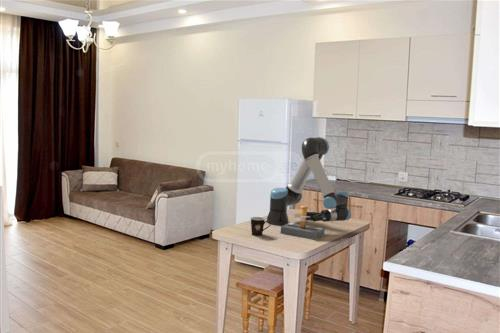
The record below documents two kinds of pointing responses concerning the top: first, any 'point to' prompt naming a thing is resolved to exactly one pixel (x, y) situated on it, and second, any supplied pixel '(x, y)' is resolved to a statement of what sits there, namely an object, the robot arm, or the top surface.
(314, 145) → the robot arm
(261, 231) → the coffee mug
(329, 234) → the top surface
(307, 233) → the switch box
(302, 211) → the switch lever
